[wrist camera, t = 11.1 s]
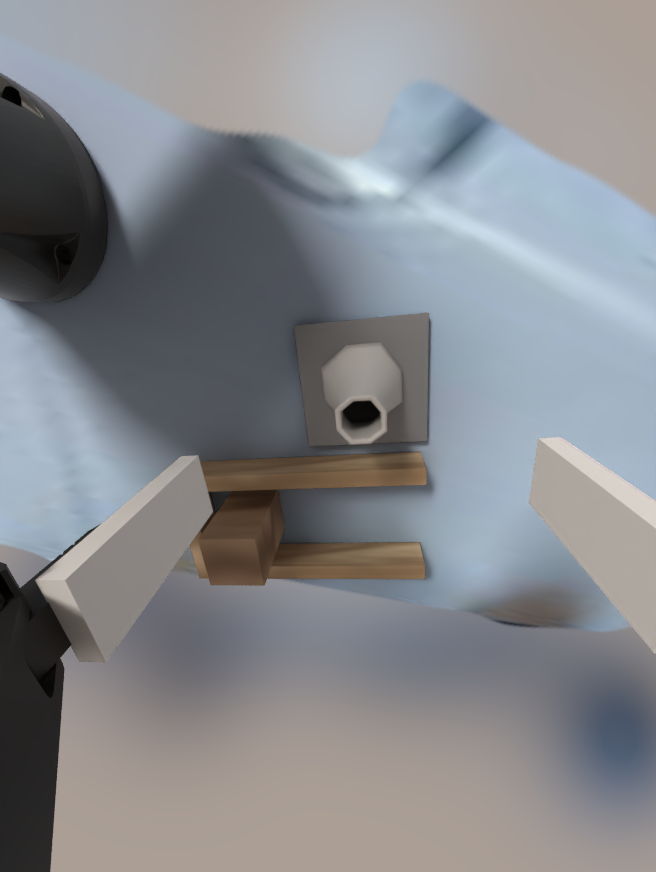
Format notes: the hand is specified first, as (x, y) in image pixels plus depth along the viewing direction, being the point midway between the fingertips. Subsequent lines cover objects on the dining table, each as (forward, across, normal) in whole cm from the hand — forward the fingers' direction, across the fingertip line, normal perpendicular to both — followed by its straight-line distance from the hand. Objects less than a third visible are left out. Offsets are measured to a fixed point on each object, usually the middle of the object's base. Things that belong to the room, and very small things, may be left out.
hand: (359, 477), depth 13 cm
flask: (+17, 0, 0) cm, 17 cm away
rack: (+18, -6, -13) cm, 23 cm away
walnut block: (+18, -12, -13) cm, 25 cm away
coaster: (+18, 0, 0) cm, 18 cm away
